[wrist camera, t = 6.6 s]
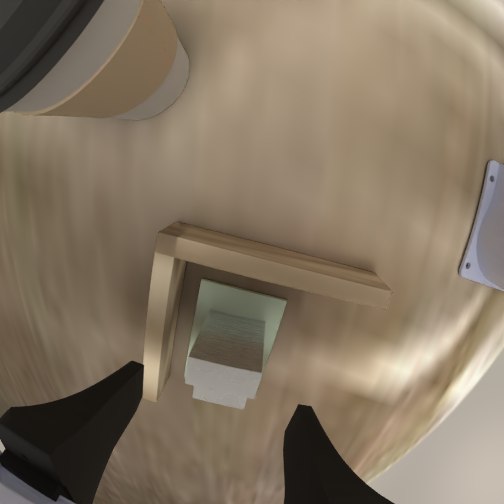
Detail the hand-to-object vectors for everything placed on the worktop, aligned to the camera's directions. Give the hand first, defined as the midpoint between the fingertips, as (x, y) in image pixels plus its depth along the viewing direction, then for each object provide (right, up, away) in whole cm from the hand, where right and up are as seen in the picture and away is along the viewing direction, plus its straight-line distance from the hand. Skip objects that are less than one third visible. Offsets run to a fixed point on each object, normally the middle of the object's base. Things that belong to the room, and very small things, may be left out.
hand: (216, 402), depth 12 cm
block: (0, -1, +10) cm, 10 cm away
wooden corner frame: (+2, +1, +9) cm, 9 cm away
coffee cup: (-6, +19, +5) cm, 21 cm away
